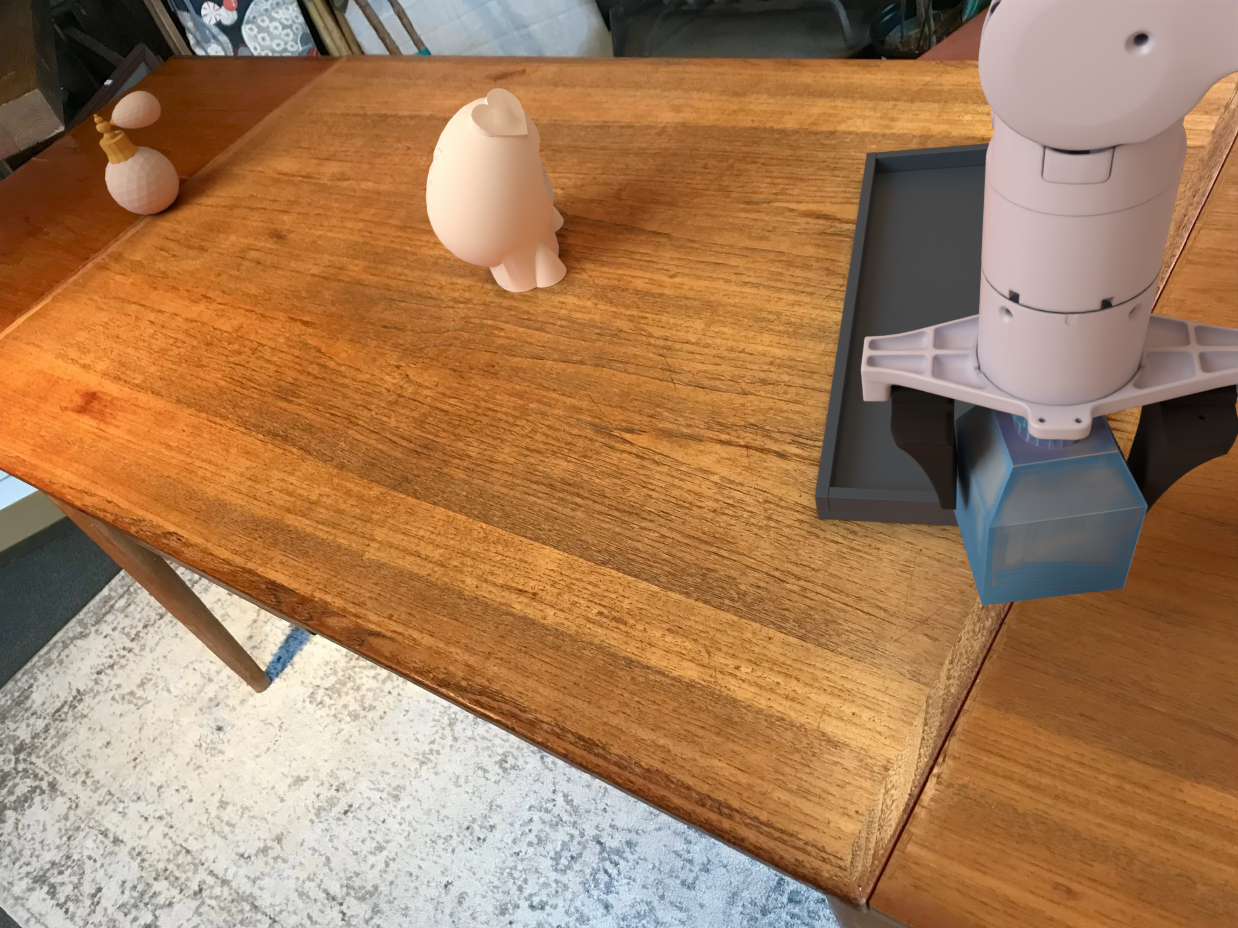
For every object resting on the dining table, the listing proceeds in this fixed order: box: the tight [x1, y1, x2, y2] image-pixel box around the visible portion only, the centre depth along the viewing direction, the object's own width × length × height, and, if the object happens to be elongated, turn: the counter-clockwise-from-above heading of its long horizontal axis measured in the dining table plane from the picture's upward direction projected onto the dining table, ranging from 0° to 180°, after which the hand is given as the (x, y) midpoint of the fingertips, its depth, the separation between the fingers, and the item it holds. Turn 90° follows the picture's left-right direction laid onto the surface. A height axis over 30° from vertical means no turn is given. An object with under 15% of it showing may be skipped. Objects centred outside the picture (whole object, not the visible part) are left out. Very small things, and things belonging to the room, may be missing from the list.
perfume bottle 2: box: [954, 405, 1148, 606], centre depth 41 cm, size 6×6×12 cm
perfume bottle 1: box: [93, 90, 180, 216], centre depth 104 cm, size 8×10×12 cm
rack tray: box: [814, 142, 990, 527], centre depth 64 cm, size 16×36×2 cm, turn 165°
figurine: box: [425, 87, 567, 293], centre depth 78 cm, size 11×11×15 cm
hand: (1037, 495), depth 43 cm, fingers closed on perfume bottle 2, 7 cm apart
